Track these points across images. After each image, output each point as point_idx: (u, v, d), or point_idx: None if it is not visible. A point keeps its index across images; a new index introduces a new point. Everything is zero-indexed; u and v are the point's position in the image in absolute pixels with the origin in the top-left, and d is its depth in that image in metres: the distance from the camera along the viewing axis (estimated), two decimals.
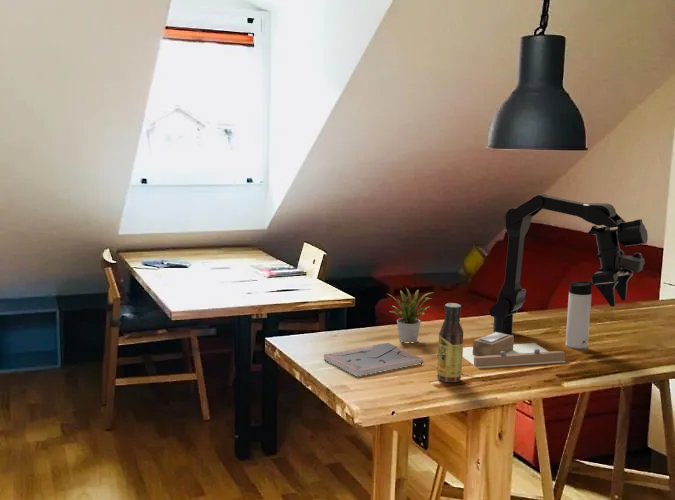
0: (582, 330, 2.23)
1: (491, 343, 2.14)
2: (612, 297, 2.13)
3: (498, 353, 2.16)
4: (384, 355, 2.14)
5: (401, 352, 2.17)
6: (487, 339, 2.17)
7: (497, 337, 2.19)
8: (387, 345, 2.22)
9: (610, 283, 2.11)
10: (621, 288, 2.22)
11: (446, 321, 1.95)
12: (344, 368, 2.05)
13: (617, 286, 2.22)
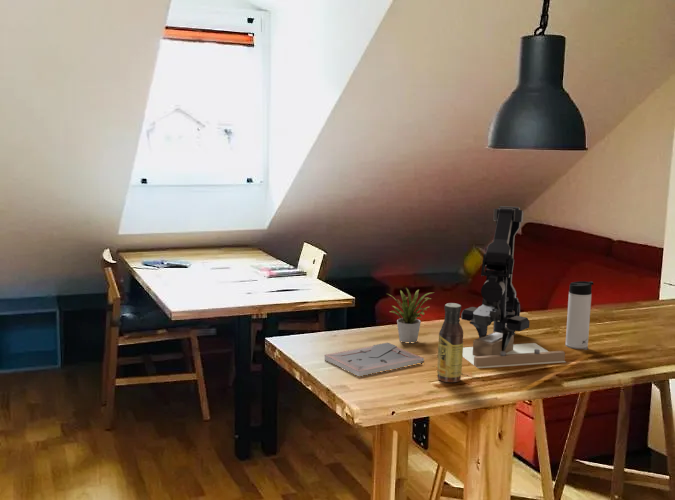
0: (582, 330, 2.23)
1: (491, 343, 2.14)
2: None
3: (498, 353, 2.16)
4: (385, 355, 2.14)
5: (401, 352, 2.17)
6: (487, 339, 2.17)
7: (497, 337, 2.19)
8: (387, 345, 2.23)
9: None
10: None
11: (446, 321, 1.95)
12: (345, 368, 2.05)
13: None
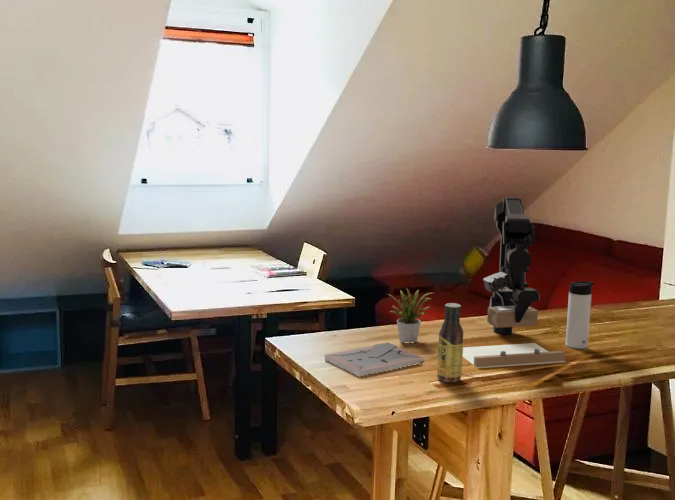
0: (582, 330, 2.23)
1: (498, 311, 2.10)
2: None
3: (509, 323, 2.11)
4: (385, 355, 2.14)
5: (401, 351, 2.17)
6: (500, 308, 2.13)
7: (514, 308, 2.13)
8: (387, 345, 2.23)
9: None
10: None
11: (446, 321, 1.95)
12: (346, 368, 2.05)
13: None
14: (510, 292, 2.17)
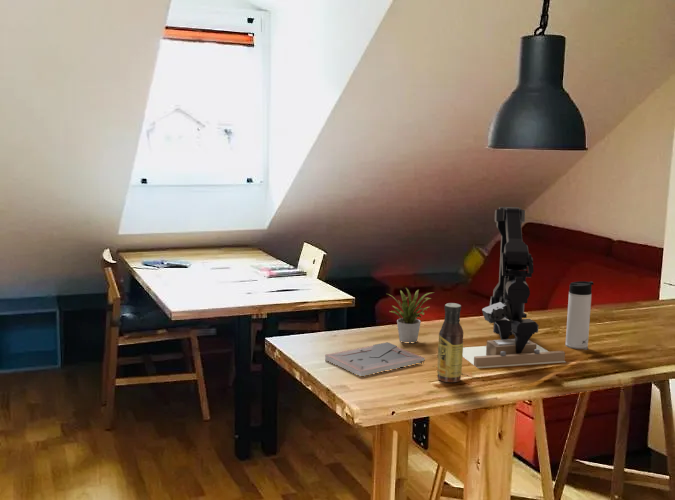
0: (582, 330, 2.23)
1: (497, 345, 2.12)
2: None
3: None
4: (385, 355, 2.14)
5: (402, 351, 2.17)
6: (499, 342, 2.14)
7: (513, 342, 2.14)
8: (387, 344, 2.23)
9: None
10: None
11: (446, 321, 1.95)
12: (347, 368, 2.05)
13: None
14: (507, 321, 2.19)
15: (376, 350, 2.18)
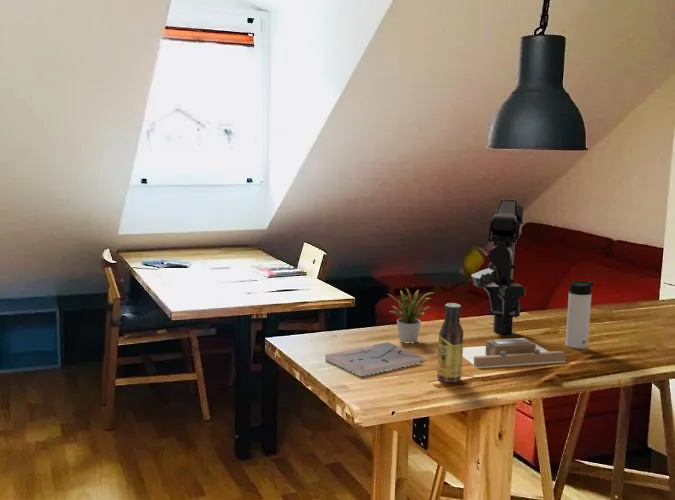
0: (582, 330, 2.23)
1: (497, 345, 2.12)
2: None
3: None
4: (385, 354, 2.14)
5: (402, 351, 2.17)
6: (499, 341, 2.15)
7: (512, 341, 2.15)
8: (387, 344, 2.23)
9: None
10: None
11: (446, 321, 1.95)
12: (347, 368, 2.05)
13: None
14: (496, 287, 2.25)
15: (376, 350, 2.18)
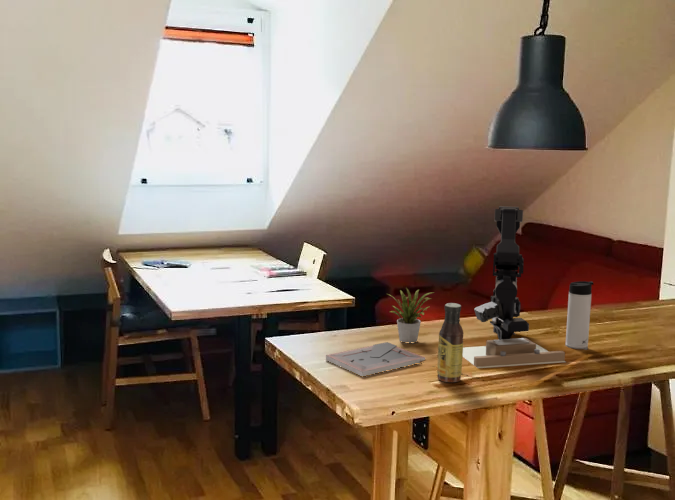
0: (582, 330, 2.23)
1: (497, 345, 2.12)
2: None
3: None
4: (386, 354, 2.15)
5: (402, 351, 2.17)
6: (499, 341, 2.15)
7: (513, 342, 2.14)
8: (387, 344, 2.23)
9: None
10: None
11: (446, 321, 1.95)
12: (348, 368, 2.05)
13: None
14: None
15: (376, 350, 2.18)
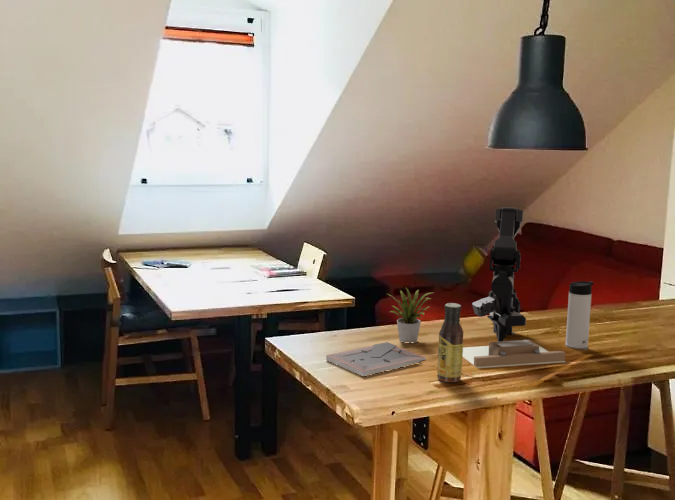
0: (582, 330, 2.23)
1: (500, 347, 2.10)
2: None
3: None
4: (386, 354, 2.15)
5: (402, 351, 2.18)
6: (502, 343, 2.13)
7: (516, 343, 2.13)
8: (387, 344, 2.23)
9: None
10: None
11: (446, 321, 1.95)
12: (349, 368, 2.05)
13: None
14: None
15: (376, 350, 2.18)
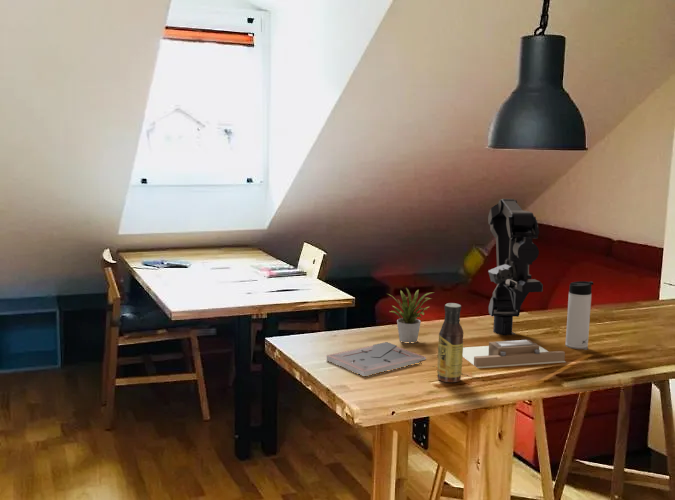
0: (582, 330, 2.23)
1: (500, 347, 2.10)
2: None
3: None
4: (386, 354, 2.15)
5: (402, 351, 2.18)
6: (502, 343, 2.13)
7: (516, 343, 2.13)
8: (386, 344, 2.23)
9: None
10: None
11: (446, 321, 1.95)
12: (350, 368, 2.05)
13: None
14: None
15: (377, 350, 2.18)
